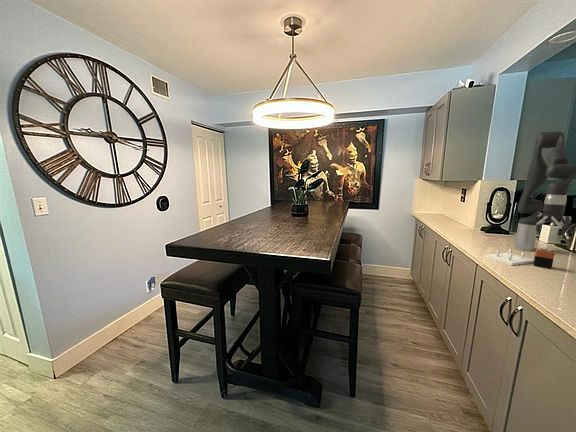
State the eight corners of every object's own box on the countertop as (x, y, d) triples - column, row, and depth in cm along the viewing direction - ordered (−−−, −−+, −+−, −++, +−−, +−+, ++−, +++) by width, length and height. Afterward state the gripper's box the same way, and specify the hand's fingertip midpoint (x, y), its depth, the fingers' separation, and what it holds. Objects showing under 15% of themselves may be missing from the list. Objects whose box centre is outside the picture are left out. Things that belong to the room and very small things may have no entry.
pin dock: (507, 254, 150) (508, 246, 149) (534, 262, 137) (536, 254, 136) (485, 257, 146) (486, 249, 145) (511, 265, 132) (513, 256, 131)
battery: (551, 269, 127) (555, 251, 126) (533, 265, 132) (536, 248, 130) (550, 267, 131) (554, 249, 129) (533, 263, 135) (536, 246, 133)
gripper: (578, 204, 119) (571, 236, 122) (542, 201, 133) (537, 230, 136) (568, 205, 118) (561, 237, 120) (532, 201, 131) (527, 230, 134)
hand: (548, 233), depth 128 cm, fingers open, 8 cm apart
